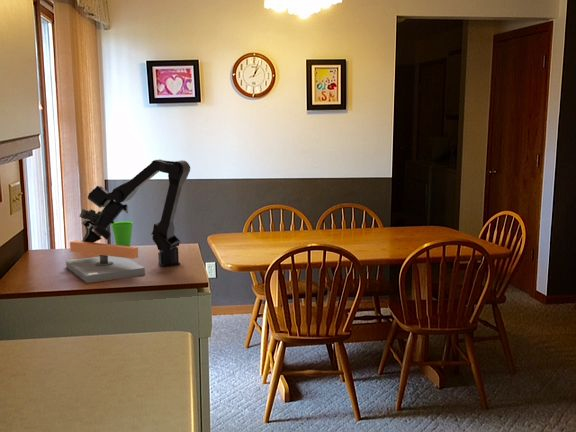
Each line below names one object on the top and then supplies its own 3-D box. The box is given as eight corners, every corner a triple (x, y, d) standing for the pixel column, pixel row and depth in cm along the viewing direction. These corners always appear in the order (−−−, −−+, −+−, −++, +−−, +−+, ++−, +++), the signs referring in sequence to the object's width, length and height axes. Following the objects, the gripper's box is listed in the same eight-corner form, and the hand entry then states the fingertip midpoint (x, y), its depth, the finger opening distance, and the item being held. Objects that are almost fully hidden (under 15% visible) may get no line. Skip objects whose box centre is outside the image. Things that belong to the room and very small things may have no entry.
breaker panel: (119, 259, 238) (119, 252, 238) (144, 274, 215) (144, 266, 214) (66, 267, 227) (65, 259, 227) (87, 283, 204) (86, 274, 204)
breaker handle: (76, 259, 229) (75, 240, 228) (139, 267, 215) (138, 247, 214) (70, 261, 226) (69, 241, 225) (134, 269, 213) (132, 248, 212)
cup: (139, 248, 260) (137, 222, 258) (122, 252, 252) (121, 225, 251) (124, 246, 265) (122, 221, 263) (107, 249, 257) (106, 224, 255)
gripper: (85, 198, 234) (57, 230, 230) (99, 203, 219) (70, 237, 215) (107, 216, 240) (80, 248, 236) (122, 222, 224) (94, 256, 220)
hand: (81, 247), depth 226 cm, fingers closed, pressing on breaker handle
